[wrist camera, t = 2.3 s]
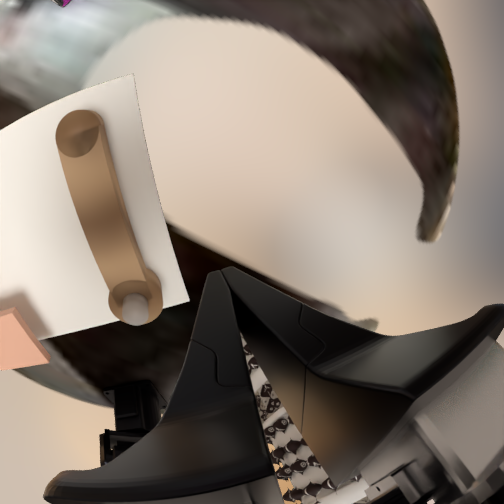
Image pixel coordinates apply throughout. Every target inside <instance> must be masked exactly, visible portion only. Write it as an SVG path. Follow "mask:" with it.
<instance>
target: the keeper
mask: <svg viewBox="0 0 504 504" xmlns="http://www.w3.org/2000/svg"><path fill="white" fill-rule="evenodd" d="M50 357H51V356H50V355H49V354H48V352H47V351H46V350H45V349H44V347H43V346H42V345H41V343H40V342H39V341H38V339H37V338H36V337H35V335H34V334H33V333H32V331H31V330H30V328H29V327H28V325H27V324H26V323H25V321H24V320H23V318H22V317H21V315H20V314H19V312H18V310H17V309H16V307H13V308H10V309H7V310H3V311H0V369H1V370H8V369H14V368H21V367H27V366H33V365H39V364H45V363H49V362H50Z"/></svg>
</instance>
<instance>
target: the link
mask: <svg viewBox="0 0 504 504" xmlns="http://www.w3.org/2000/svg"><path fill="white" fill-rule="evenodd" d="M55 139H56V145H57V149H58V153H59V157H60V161H61V164H62V168H63V172H64V175H65V179H66V182H67V185H68V188H69V192H70V195H71V198H72V201H73V204H74V207H75V210H76V213H77V215H78V218H79V221H80V224H81V226H82V229H83V231H84V234H85V237H86V239H87V242H88V244H89V247H90V249H91V251H92V254H93V256H94V258H95V261H96V263H97V265H98V267H99V270H100V272H101V274H102V276H103V278H104V280H105V283H106V285H107V287H108V289H109V297H108V305H109V308H110V310H111V312H112V313H113V314H114V316H115V317H117V318H118V319H119V320H121V321H123V322H125V323H128V324H131V325H142V324H146V323H149V322H151V321H153V320H154V319H156V318H157V317H158V316H159V314H160V313H161V311H162V308H163V296H162V287H161V282H160V280H159V278H158V276H157V275H156V274H155V273H154V272H153V271H151V270H150V269H148V268H146V266H145V263H144V260H143V258H142V255H141V252H140V249H139V247H138V244H137V241H136V238H135V235H134V232H133V229H132V226H131V223H130V220H129V217H128V214H127V210H126V207H125V204H124V200H123V197H122V194H121V190H120V187H119V183H118V179H117V176H116V172H115V168H114V164H113V160H112V156H111V152H110V148H109V143H108V139H107V134H106V130H105V125H104V121H103V119H102V117H101V116H100V115H99V114H98V113H96V112H95V111H92V110H74V111H71V112H69V113H68V114H66V115H65V116H64V117H63V118H62V119H61V121H60V122H59V124H58V126H57V129H56V134H55Z"/></svg>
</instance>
